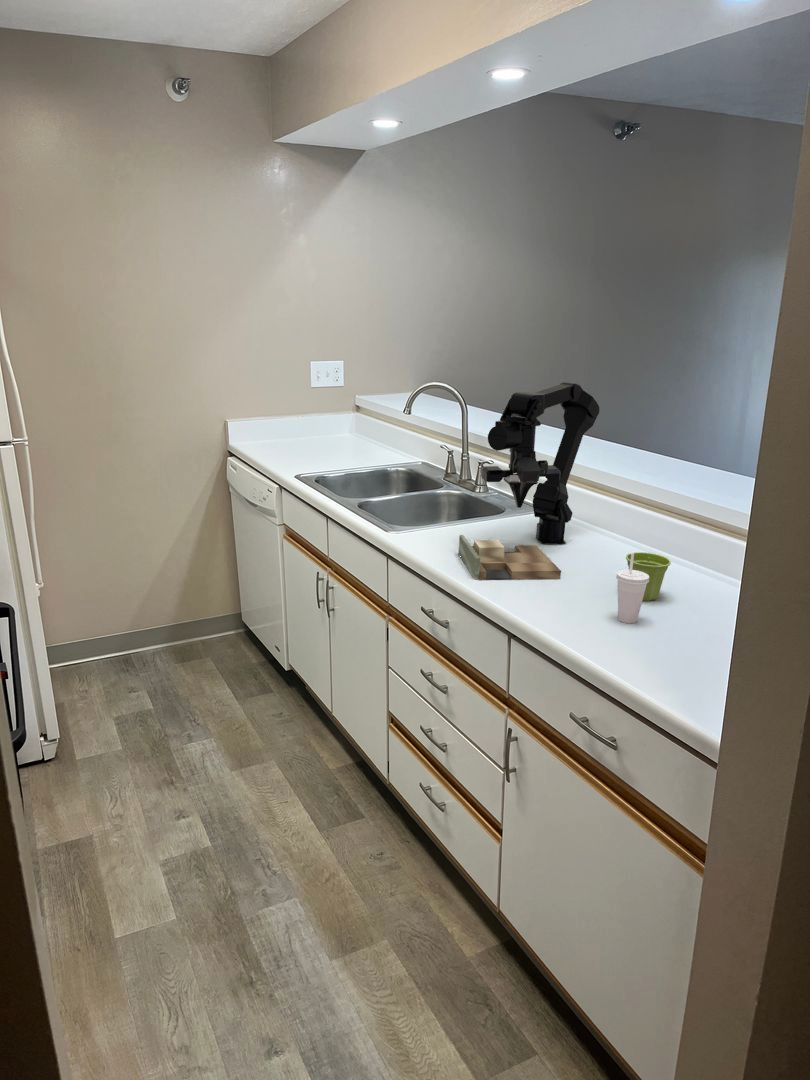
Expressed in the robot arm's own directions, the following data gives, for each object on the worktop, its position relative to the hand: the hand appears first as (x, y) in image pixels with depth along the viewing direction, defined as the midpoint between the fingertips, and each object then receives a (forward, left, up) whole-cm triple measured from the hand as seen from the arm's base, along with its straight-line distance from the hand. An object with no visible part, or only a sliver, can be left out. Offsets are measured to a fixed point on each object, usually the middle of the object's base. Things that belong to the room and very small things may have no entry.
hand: (518, 507), depth 202 cm
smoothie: (-11, +46, -12) cm, 48 cm away
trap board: (+4, +11, -12) cm, 16 cm away
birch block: (+10, +11, -10) cm, 17 cm away
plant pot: (-20, +33, -12) cm, 40 cm away
